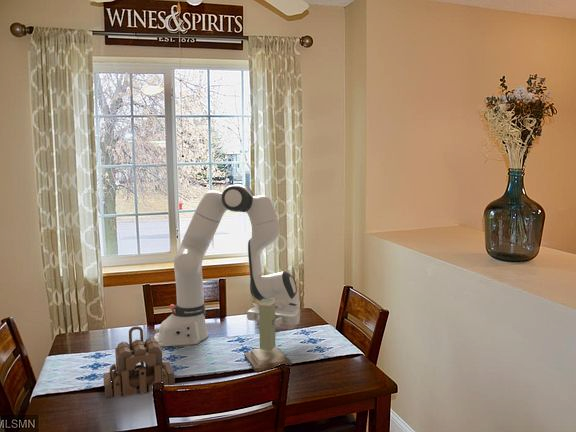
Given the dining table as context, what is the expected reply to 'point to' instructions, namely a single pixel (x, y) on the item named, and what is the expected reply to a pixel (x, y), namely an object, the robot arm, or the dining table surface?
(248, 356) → the plinth
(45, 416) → the dining table surface
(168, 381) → the wooden puzzle
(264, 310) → the olive pillar
